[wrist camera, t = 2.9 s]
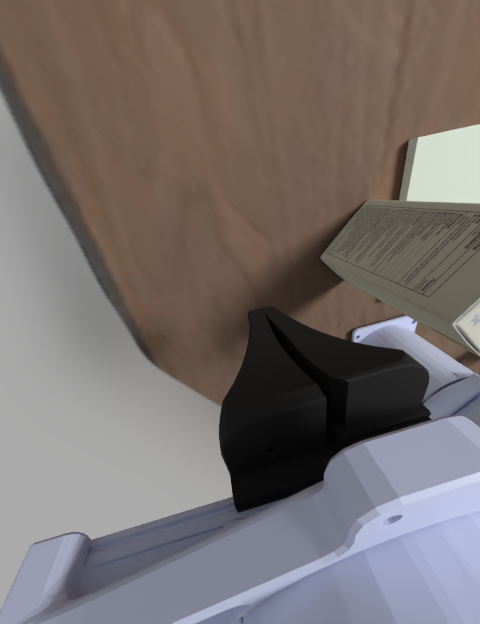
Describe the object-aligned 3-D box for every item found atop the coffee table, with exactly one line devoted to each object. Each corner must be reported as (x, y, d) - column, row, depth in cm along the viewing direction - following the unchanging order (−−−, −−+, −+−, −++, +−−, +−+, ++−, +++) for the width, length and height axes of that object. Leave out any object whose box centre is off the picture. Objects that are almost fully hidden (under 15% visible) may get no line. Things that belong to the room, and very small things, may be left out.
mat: (491, 270, 25) (500, 272, 24) (382, 298, 24) (388, 301, 24) (560, 107, 18) (574, 103, 17) (409, 139, 17) (418, 137, 16)
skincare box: (344, 281, 22) (477, 365, 12) (317, 256, 21) (445, 330, 10) (396, 226, 20) (609, 267, 10) (370, 193, 19) (599, 203, 8)
